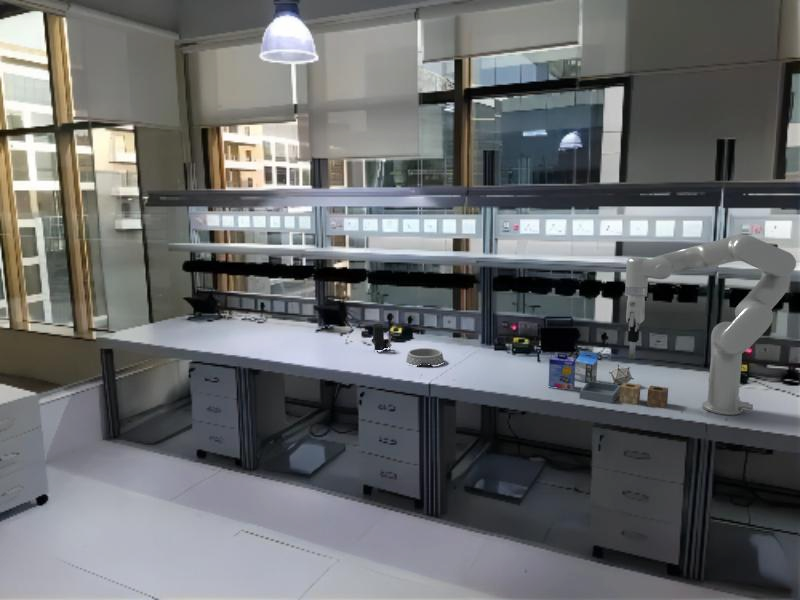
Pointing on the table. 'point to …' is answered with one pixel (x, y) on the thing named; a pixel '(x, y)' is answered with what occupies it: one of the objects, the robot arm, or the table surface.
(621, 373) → the beige spiked polyhedron
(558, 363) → the ink cartridge box
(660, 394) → the walnut block
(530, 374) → the table surface
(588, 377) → the label tape box
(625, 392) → the oak block
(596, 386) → the tray
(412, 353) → the dog bowl
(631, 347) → the pin gauge
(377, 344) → the scope
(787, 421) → the table surface
